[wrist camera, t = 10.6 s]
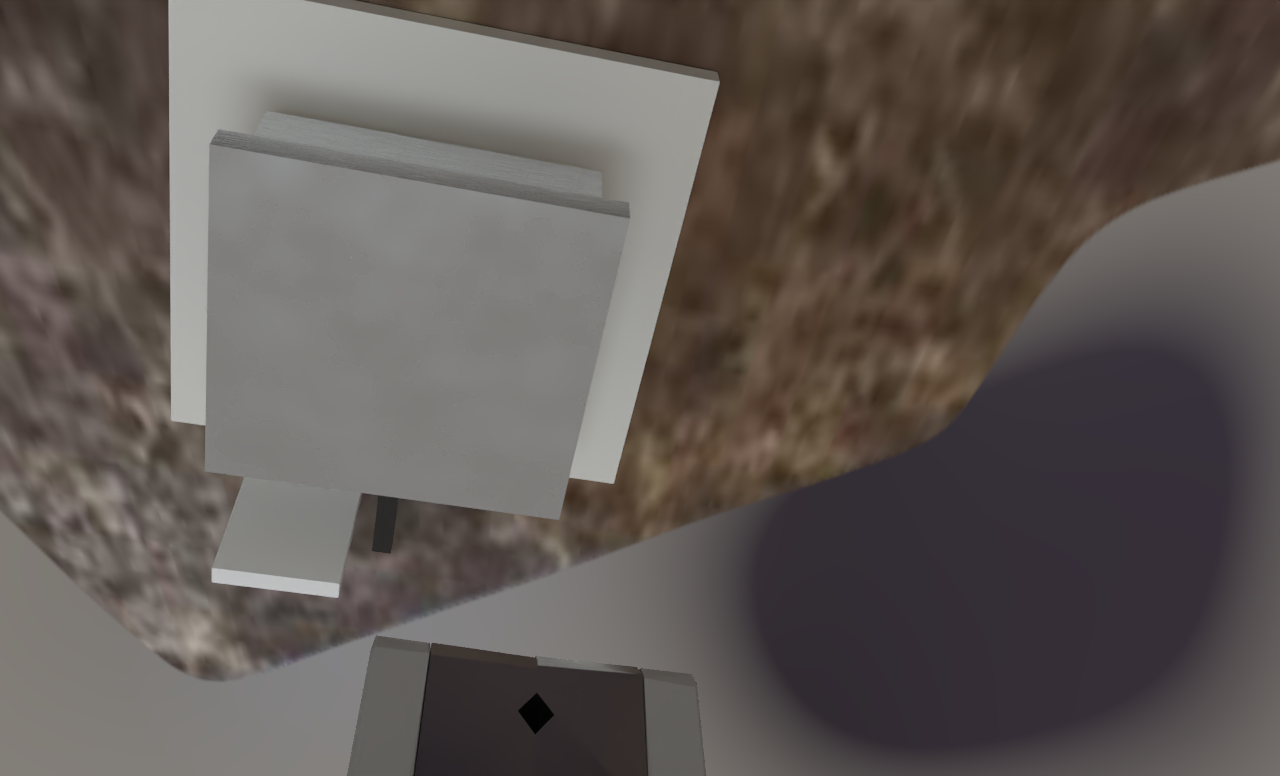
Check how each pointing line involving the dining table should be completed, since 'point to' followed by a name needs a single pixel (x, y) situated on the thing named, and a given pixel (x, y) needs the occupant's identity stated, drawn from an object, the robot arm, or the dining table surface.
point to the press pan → (402, 315)
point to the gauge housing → (438, 111)
